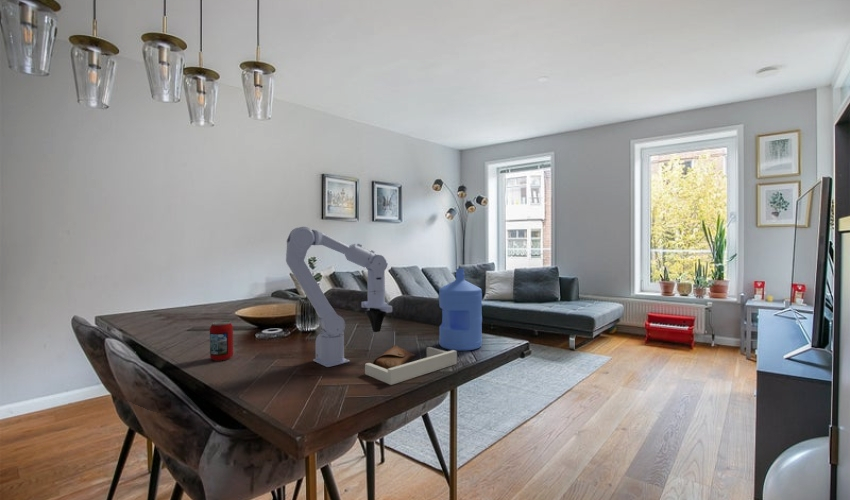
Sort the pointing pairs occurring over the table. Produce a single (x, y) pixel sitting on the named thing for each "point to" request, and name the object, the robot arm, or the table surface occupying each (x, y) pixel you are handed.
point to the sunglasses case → (393, 358)
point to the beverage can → (221, 340)
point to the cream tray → (413, 367)
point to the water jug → (460, 314)
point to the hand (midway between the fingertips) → (376, 331)
